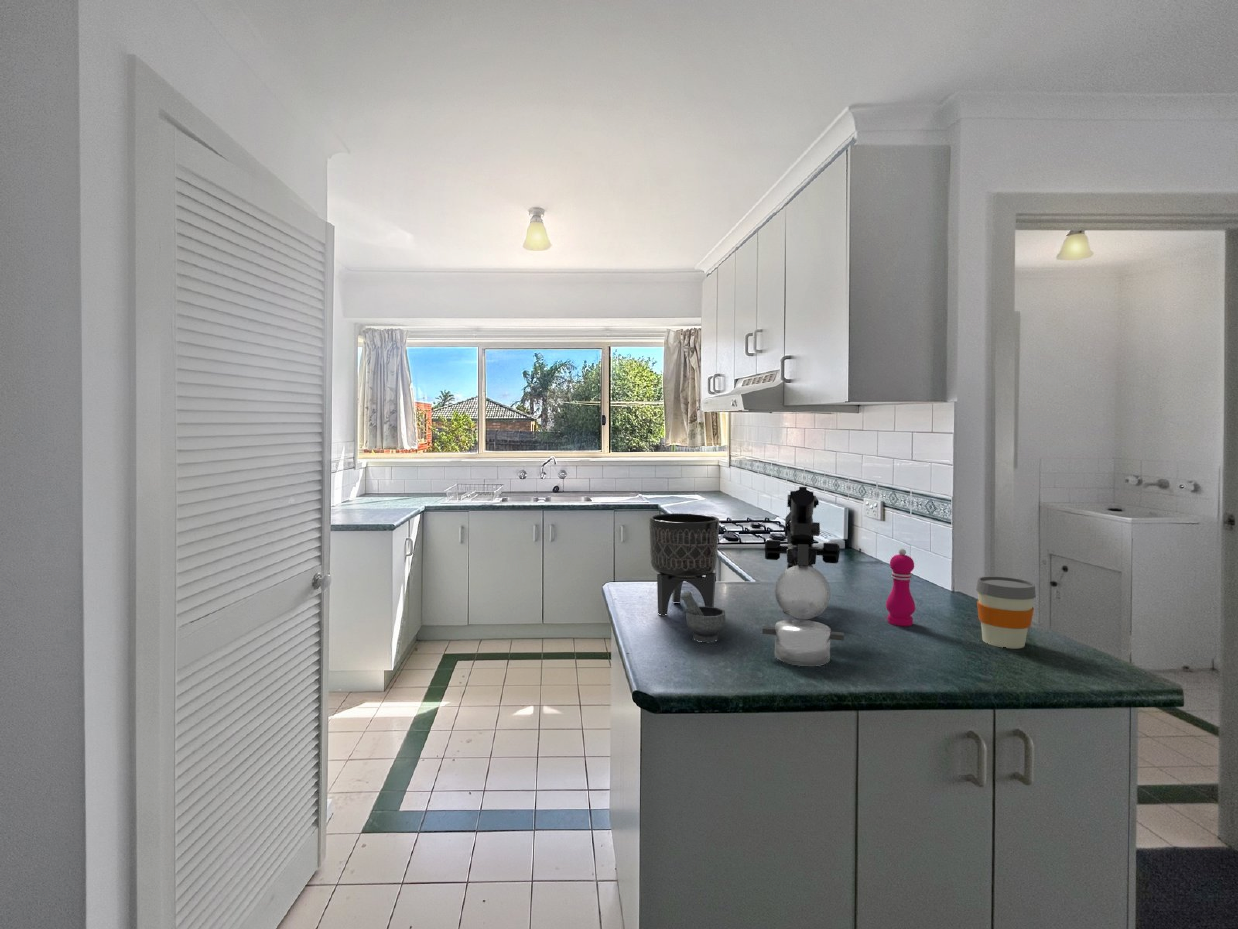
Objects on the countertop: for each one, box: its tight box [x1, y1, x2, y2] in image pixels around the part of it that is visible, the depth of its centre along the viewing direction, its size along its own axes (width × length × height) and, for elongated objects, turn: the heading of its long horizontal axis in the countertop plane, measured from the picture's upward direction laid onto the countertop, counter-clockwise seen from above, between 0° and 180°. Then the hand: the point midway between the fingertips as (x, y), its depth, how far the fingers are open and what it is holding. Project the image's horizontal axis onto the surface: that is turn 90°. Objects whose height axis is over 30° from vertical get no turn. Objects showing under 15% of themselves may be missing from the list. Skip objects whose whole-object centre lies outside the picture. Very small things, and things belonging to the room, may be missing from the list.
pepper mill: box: [885, 548, 916, 627], centre depth 178 cm, size 7×7×20 cm
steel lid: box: [774, 544, 831, 620], centre depth 159 cm, size 18×13×1 cm
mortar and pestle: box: [680, 590, 726, 643], centre depth 162 cm, size 11×9×12 cm
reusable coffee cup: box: [975, 575, 1037, 649], centre depth 162 cm, size 13×13×15 cm
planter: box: [648, 512, 720, 615], centre depth 187 cm, size 20×20×26 cm
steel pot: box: [761, 618, 845, 666], centre depth 150 cm, size 12×18×7 cm
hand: (801, 578), depth 169 cm, fingers closed
